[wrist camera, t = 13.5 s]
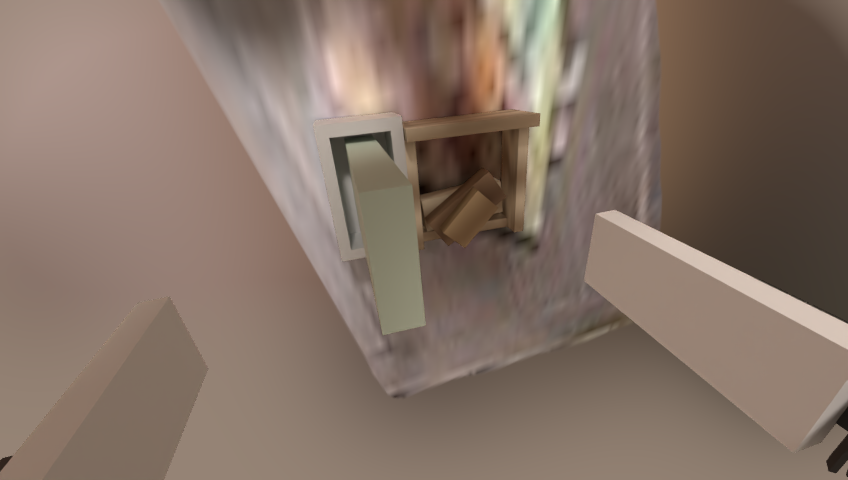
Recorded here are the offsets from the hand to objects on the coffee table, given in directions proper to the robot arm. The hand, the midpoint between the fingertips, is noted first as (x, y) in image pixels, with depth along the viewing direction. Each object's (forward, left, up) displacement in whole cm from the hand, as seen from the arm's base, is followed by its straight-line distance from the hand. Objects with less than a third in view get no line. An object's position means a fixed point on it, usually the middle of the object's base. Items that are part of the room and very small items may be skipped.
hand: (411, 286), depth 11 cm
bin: (+5, +1, -30) cm, 30 cm away
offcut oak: (+9, +11, -26) cm, 30 cm away
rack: (+6, +12, -30) cm, 32 cm away
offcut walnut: (+9, +12, -28) cm, 31 cm away
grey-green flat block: (+4, +1, -29) cm, 29 cm away
